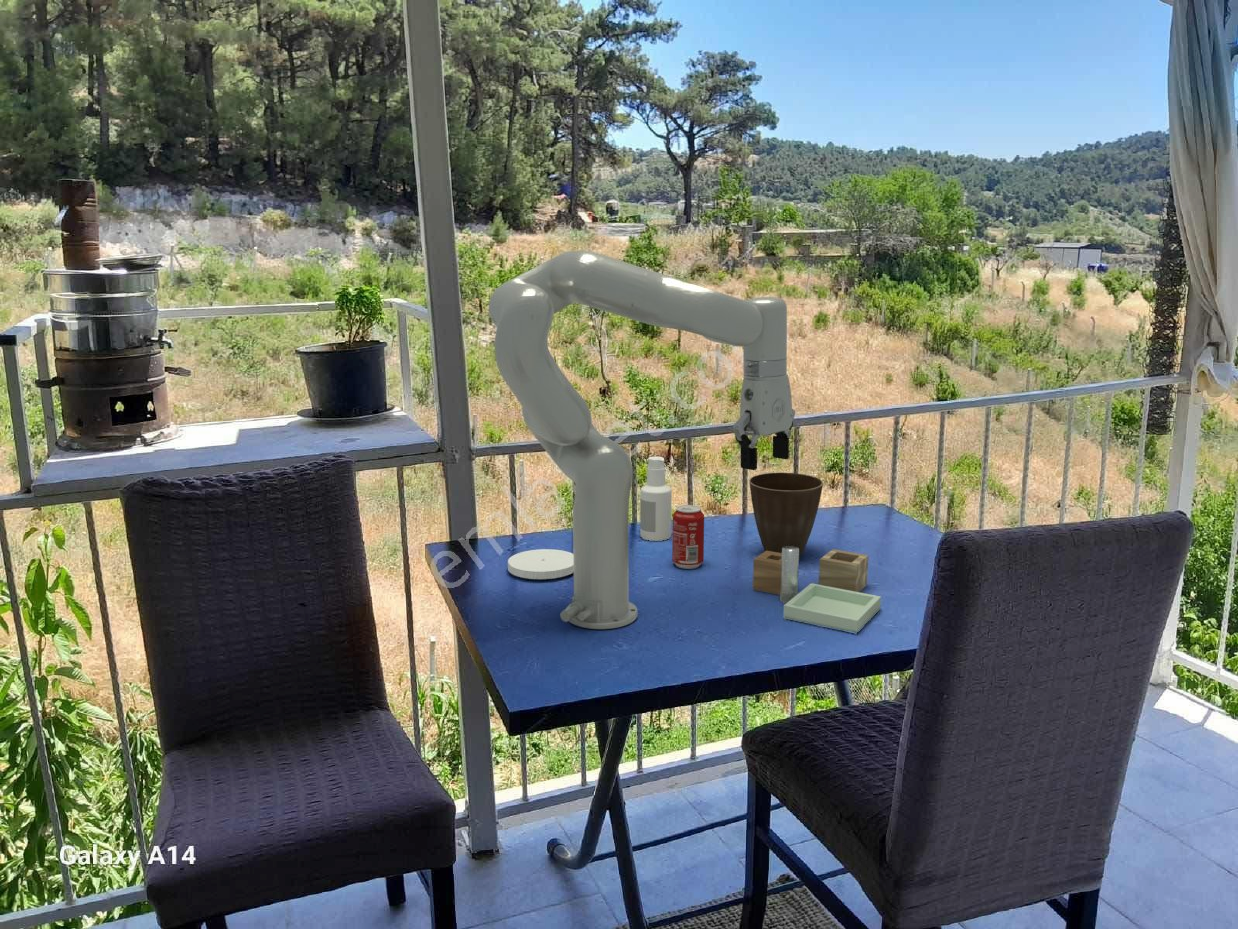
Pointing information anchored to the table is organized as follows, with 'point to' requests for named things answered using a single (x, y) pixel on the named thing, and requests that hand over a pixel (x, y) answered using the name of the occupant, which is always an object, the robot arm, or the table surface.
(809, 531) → the plant pot
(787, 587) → the cylinder
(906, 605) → the table surface
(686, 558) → the beverage can
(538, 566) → the plastic lid
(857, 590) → the go block
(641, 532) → the spray bottle
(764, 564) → the block
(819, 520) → the table surface
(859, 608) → the tray
